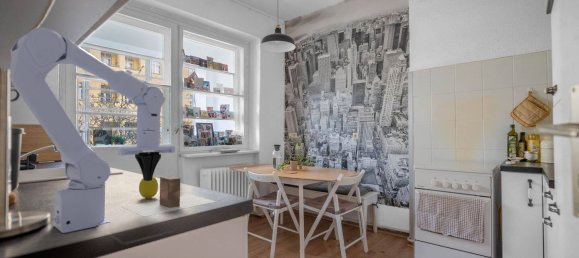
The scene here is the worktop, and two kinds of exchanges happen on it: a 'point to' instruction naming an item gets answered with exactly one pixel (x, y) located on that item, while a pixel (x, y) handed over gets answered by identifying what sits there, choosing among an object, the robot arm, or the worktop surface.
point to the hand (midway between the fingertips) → (147, 180)
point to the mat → (156, 208)
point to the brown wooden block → (170, 191)
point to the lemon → (148, 188)
